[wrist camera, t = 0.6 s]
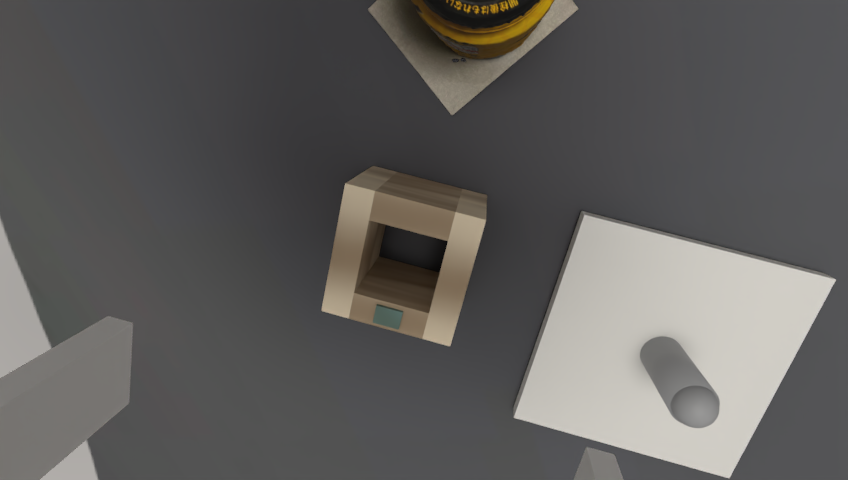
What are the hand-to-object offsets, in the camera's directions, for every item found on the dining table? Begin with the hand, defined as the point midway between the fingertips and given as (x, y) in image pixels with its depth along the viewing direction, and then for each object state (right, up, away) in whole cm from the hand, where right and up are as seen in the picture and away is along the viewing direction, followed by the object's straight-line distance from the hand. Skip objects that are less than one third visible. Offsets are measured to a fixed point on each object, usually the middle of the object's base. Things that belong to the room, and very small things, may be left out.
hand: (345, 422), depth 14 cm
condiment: (+5, +18, +13) cm, 22 cm away
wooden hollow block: (+2, +5, +17) cm, 18 cm away
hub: (+16, -1, +17) cm, 23 cm away
